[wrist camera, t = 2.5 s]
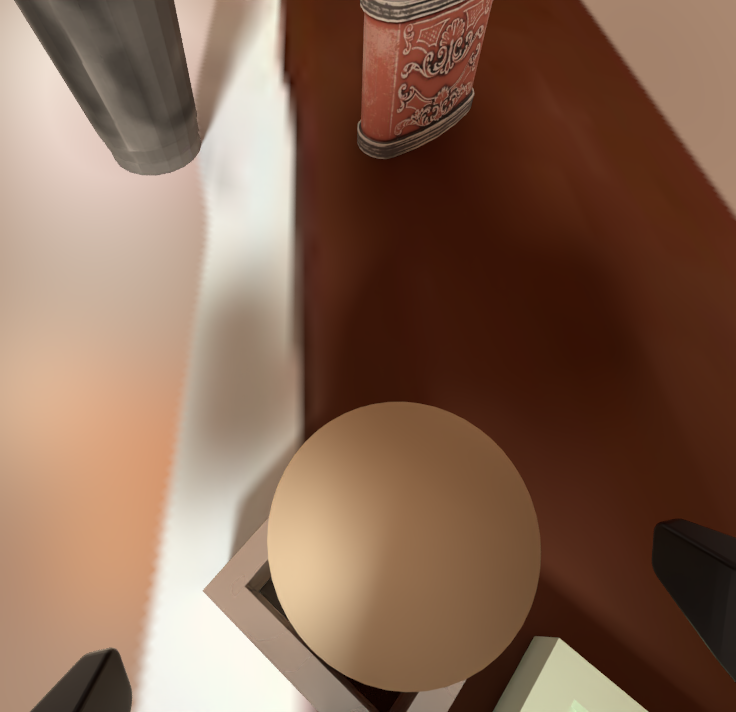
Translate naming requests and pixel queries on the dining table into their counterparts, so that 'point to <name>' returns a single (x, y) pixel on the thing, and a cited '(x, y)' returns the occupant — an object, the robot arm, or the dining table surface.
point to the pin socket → (298, 639)
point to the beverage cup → (124, 75)
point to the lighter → (417, 70)
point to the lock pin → (404, 546)
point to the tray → (561, 683)
